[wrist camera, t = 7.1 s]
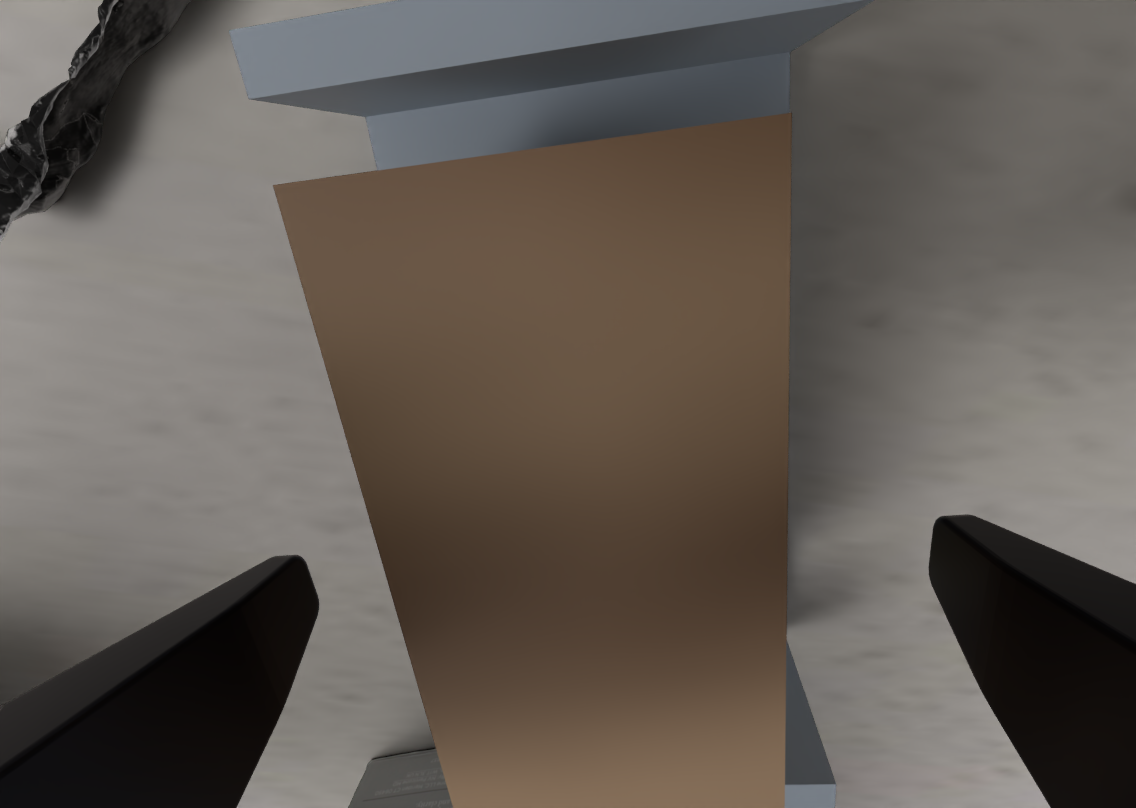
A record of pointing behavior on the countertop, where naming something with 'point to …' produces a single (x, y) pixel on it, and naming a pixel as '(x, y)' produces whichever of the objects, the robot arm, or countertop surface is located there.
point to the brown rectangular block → (575, 453)
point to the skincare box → (403, 783)
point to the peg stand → (549, 111)
